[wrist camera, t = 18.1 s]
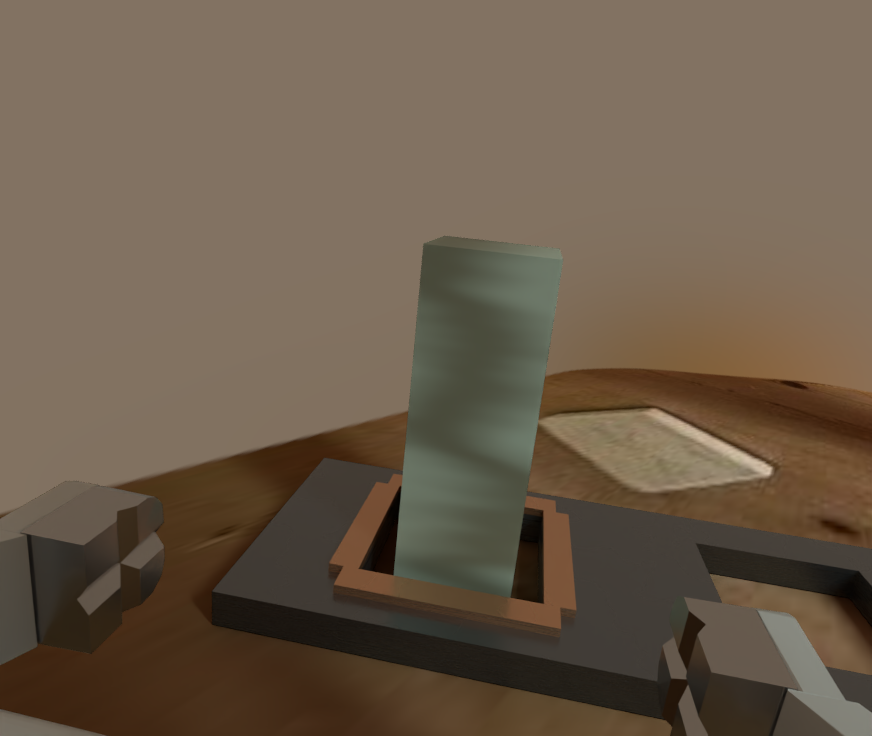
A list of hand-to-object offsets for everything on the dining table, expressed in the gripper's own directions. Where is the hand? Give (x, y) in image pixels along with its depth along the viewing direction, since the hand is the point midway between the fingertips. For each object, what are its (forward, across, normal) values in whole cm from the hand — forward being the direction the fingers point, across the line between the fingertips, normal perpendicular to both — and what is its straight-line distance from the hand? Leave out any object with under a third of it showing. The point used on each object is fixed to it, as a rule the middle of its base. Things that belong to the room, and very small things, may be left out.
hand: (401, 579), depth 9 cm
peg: (+12, 0, +8) cm, 14 cm away
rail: (+12, -6, +8) cm, 15 cm away
